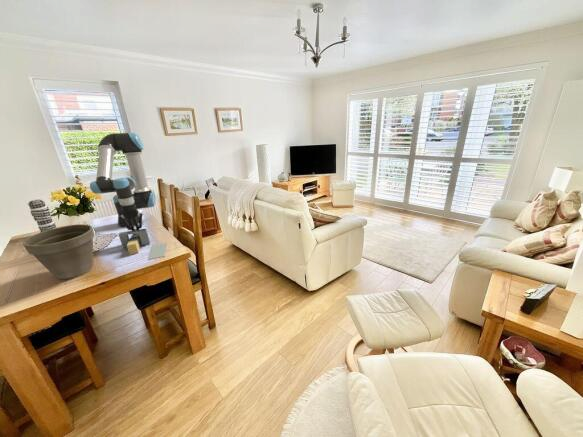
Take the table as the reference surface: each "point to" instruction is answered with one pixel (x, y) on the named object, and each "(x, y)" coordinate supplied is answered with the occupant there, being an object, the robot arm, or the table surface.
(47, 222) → the decorative candle
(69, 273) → the plant pot
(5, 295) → the table surface
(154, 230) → the table surface
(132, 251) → the two-tone upright block
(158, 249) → the mat
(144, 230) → the frame
